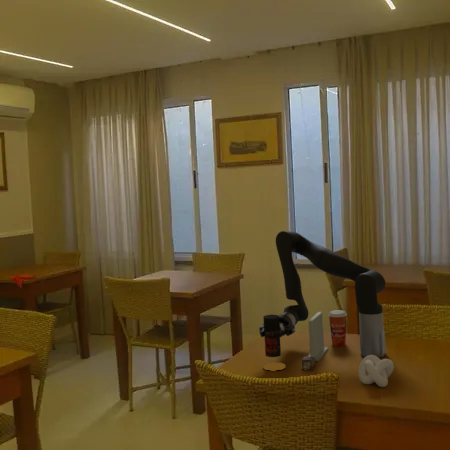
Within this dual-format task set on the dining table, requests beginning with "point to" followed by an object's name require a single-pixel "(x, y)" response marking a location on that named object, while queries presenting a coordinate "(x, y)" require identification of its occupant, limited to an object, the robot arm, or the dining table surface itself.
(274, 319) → the deodorant
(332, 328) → the paper cup
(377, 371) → the white knot sculpture
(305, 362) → the letter cube
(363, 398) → the dining table surface
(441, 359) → the dining table surface
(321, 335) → the screen
